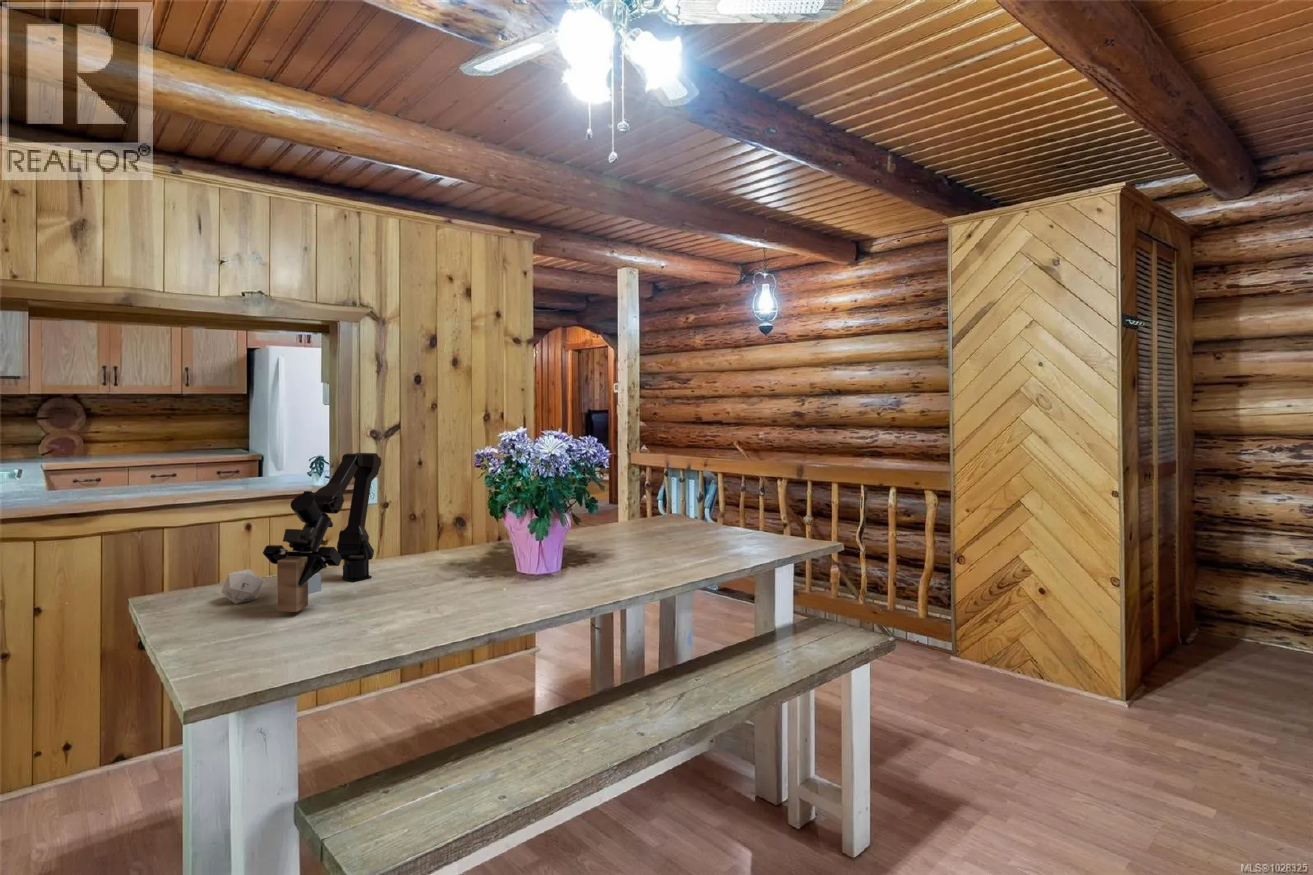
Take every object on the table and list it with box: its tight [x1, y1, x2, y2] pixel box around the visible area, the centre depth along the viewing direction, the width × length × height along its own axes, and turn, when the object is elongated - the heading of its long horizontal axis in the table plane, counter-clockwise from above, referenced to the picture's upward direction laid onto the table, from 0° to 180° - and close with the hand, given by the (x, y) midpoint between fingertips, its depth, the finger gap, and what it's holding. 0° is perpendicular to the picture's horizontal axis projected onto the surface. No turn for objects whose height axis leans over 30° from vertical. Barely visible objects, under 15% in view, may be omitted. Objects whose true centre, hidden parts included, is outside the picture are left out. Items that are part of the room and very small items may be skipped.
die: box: [221, 568, 264, 605], centre depth 182 cm, size 8×9×10 cm
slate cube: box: [308, 572, 322, 595], centre depth 191 cm, size 5×5×5 cm
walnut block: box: [276, 556, 309, 613], centre depth 172 cm, size 5×5×13 cm
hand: (289, 584), depth 170 cm, fingers closed on walnut block, 5 cm apart
